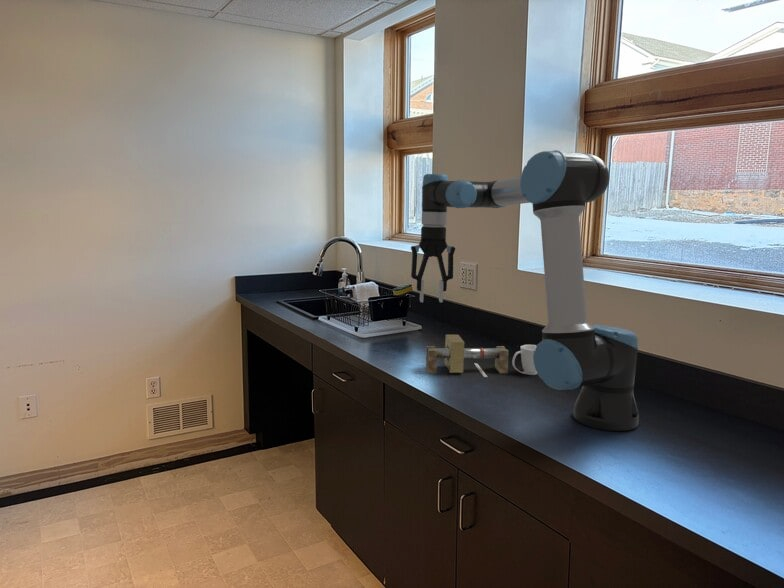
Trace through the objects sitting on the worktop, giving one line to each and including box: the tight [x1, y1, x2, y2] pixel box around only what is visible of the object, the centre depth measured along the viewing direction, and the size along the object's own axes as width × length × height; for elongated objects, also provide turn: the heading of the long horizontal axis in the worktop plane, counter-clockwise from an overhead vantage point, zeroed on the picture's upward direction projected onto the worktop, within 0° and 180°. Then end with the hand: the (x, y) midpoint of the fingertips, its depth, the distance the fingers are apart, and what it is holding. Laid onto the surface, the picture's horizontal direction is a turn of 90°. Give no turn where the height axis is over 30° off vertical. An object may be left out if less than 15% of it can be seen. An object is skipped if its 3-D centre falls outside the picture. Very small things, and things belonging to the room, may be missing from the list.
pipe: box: [428, 347, 507, 360], centre depth 185 cm, size 24×3×3 cm, turn 95°
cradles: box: [425, 345, 509, 375], centre depth 185 cm, size 24×6×7 cm, turn 95°
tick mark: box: [473, 362, 488, 378], centre depth 186 cm, size 1×14×1 cm, turn 5°
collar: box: [444, 334, 465, 374], centre depth 184 cm, size 4×9×9 cm, turn 5°
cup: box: [511, 344, 538, 376], centre depth 184 cm, size 7×10×8 cm
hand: (431, 301), depth 186 cm, fingers open, 5 cm apart
